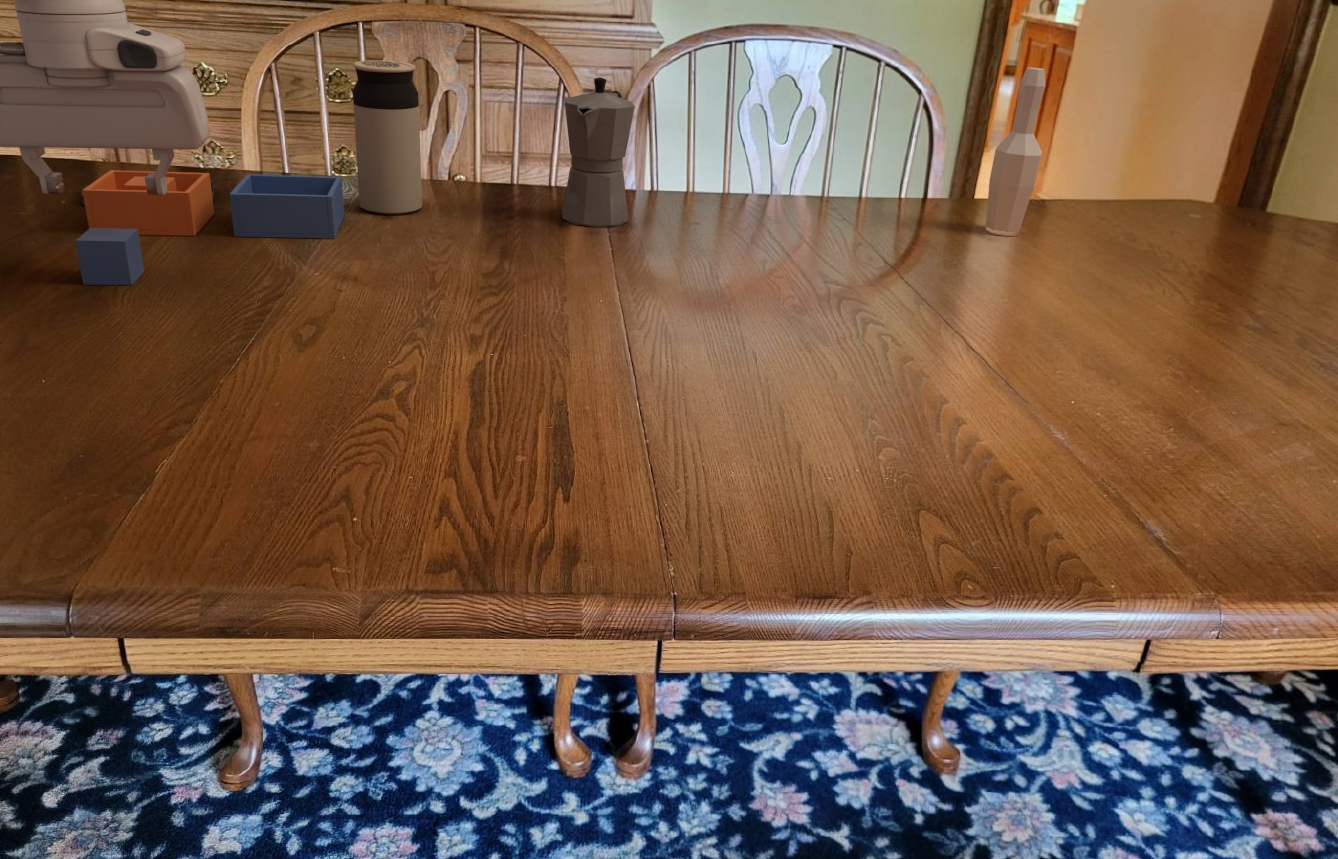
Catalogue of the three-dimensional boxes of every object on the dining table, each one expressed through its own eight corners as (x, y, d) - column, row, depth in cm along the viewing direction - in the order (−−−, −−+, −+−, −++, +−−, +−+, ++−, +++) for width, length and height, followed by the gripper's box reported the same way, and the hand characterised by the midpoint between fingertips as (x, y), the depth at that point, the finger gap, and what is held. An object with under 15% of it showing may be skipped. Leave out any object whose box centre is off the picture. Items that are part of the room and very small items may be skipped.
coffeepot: (614, 234, 133) (620, 87, 126) (544, 225, 135) (546, 79, 128) (646, 208, 147) (654, 74, 139) (582, 200, 149) (586, 67, 141)
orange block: (129, 223, 122) (123, 184, 120) (140, 213, 126) (134, 176, 124) (170, 224, 123) (165, 186, 121) (180, 214, 127) (175, 177, 125)
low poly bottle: (1030, 239, 146) (1067, 73, 136) (984, 236, 146) (1018, 69, 136) (1018, 227, 151) (1052, 67, 142) (974, 224, 151) (1005, 64, 142)
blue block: (83, 284, 104) (75, 240, 102) (97, 270, 108) (90, 227, 106) (131, 285, 105) (124, 241, 103) (144, 271, 109) (138, 228, 107)
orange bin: (89, 233, 119) (82, 189, 117) (117, 211, 128) (110, 170, 126) (194, 236, 121) (189, 192, 119) (214, 213, 130) (209, 172, 128)
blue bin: (234, 236, 122) (229, 193, 120) (250, 214, 131) (246, 174, 129) (334, 238, 124) (331, 196, 122) (344, 216, 133) (341, 176, 131)
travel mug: (367, 217, 133) (359, 68, 126) (353, 202, 140) (344, 59, 132) (429, 213, 137) (425, 68, 129) (413, 199, 143) (407, 60, 135)
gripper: (-62, 44, 92) (-24, 200, 98) (185, 51, 96) (208, 202, 102) (-32, 36, 98) (3, 184, 104) (201, 43, 101) (221, 186, 107)
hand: (106, 193), depth 103 cm, fingers open, 8 cm apart
